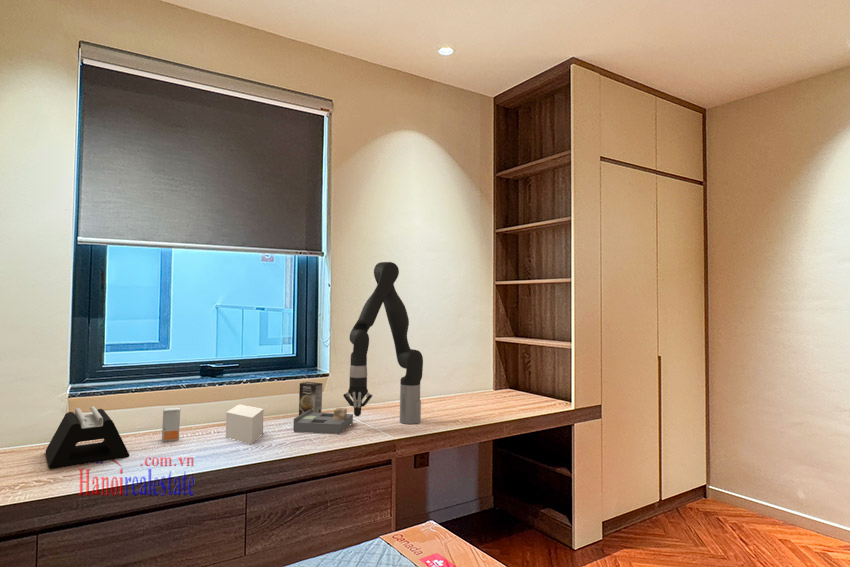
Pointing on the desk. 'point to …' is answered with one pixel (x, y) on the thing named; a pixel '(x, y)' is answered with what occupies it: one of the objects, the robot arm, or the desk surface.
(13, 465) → the desk surface
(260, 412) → the beige rectangular block
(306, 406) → the coffee box
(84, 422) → the device stand
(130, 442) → the desk surface
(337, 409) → the block
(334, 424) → the plate
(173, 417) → the skincare box
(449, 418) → the desk surface
